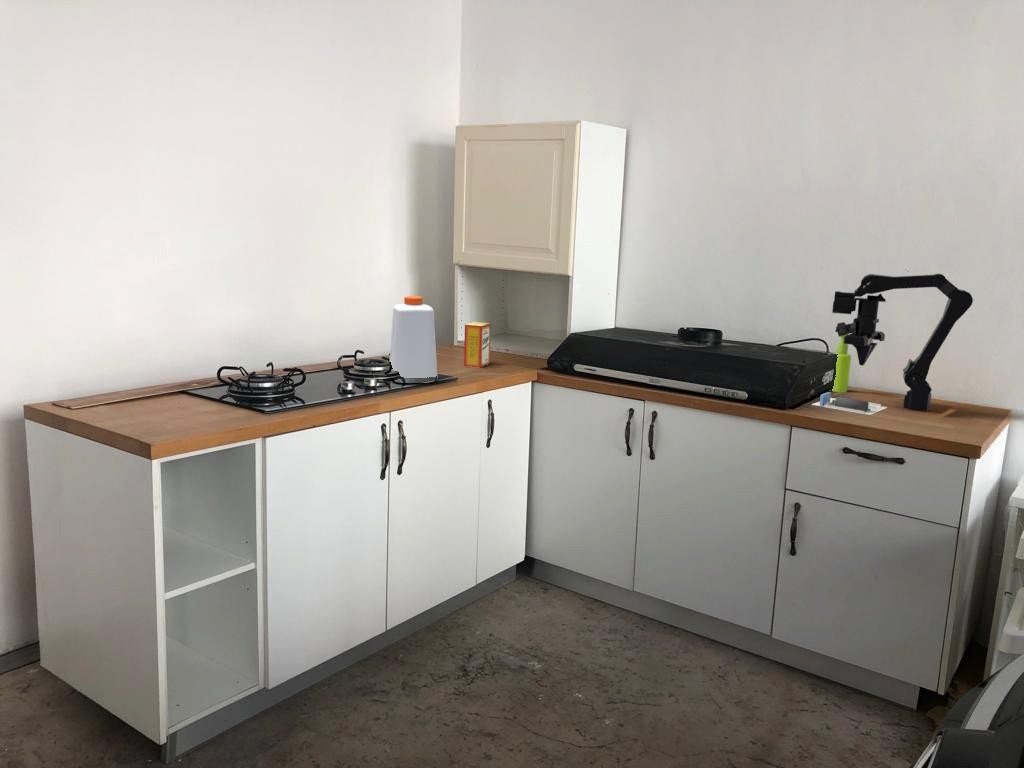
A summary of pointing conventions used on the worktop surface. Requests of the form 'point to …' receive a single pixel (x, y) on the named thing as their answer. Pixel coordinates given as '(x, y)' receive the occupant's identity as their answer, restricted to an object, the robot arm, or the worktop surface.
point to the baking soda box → (477, 344)
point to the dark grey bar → (851, 404)
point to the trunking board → (830, 403)
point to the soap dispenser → (842, 367)
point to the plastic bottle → (413, 339)
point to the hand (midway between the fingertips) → (861, 365)
